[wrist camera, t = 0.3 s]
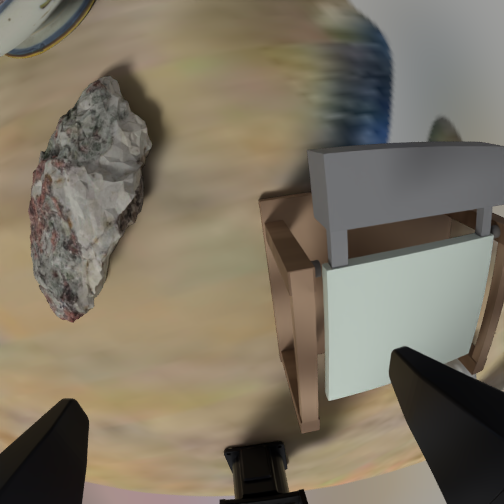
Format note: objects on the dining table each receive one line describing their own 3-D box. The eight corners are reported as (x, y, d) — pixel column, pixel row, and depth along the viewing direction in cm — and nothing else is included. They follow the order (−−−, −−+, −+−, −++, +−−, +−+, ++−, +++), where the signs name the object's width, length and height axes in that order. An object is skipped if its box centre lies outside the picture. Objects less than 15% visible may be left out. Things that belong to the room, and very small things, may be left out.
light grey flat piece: (457, 341, 20) (474, 359, 17) (321, 384, 19) (332, 410, 17) (479, 142, 14) (507, 147, 12) (306, 149, 14) (323, 154, 12)
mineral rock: (94, 72, 16) (64, 60, 12) (194, 126, 18) (186, 124, 14) (19, 254, 20) (-11, 278, 16) (99, 305, 22) (79, 338, 18)
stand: (435, 318, 26) (483, 369, 18) (279, 358, 25) (300, 434, 18) (447, 176, 21) (521, 202, 13) (258, 199, 20) (281, 241, 13)
